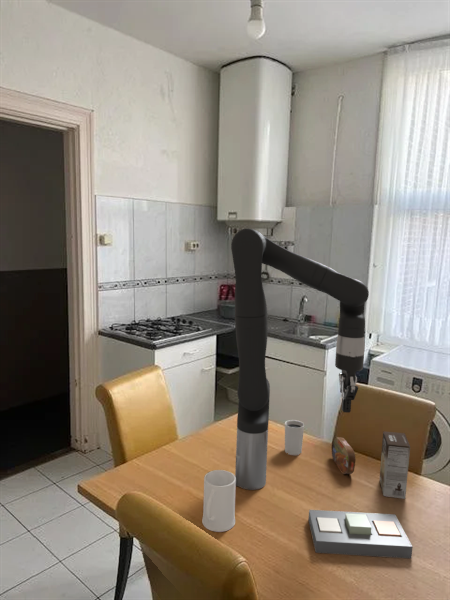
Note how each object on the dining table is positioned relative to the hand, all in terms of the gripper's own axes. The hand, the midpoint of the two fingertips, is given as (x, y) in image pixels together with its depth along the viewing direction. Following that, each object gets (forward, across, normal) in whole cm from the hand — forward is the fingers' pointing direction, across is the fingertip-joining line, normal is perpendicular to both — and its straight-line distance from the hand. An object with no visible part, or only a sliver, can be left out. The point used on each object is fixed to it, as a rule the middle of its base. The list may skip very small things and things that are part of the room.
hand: (345, 411), depth 123 cm
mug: (+25, +17, -35) cm, 46 cm away
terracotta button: (+25, +19, +7) cm, 32 cm away
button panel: (+25, +19, 0) cm, 31 cm away
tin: (+25, -16, +4) cm, 30 cm away
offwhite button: (+25, +19, -7) cm, 32 cm away
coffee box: (+25, -4, +16) cm, 30 cm away
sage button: (+23, +19, 0) cm, 30 cm away
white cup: (+25, -25, -11) cm, 37 cm away
